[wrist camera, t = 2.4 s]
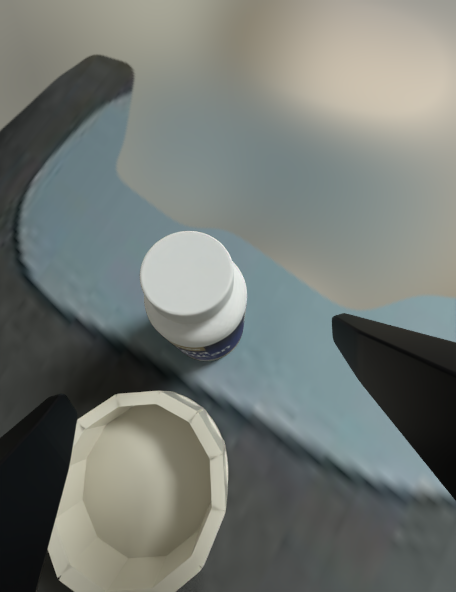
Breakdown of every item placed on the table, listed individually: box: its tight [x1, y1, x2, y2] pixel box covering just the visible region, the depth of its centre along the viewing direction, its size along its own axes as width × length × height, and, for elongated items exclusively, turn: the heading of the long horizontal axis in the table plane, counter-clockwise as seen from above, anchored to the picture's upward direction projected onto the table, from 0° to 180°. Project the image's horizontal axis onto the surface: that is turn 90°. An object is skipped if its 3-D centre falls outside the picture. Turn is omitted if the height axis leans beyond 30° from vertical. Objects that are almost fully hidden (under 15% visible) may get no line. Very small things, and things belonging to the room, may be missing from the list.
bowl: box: [48, 391, 228, 592], centre depth 16 cm, size 10×10×4 cm
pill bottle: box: [140, 231, 247, 361], centre depth 16 cm, size 5×5×10 cm
